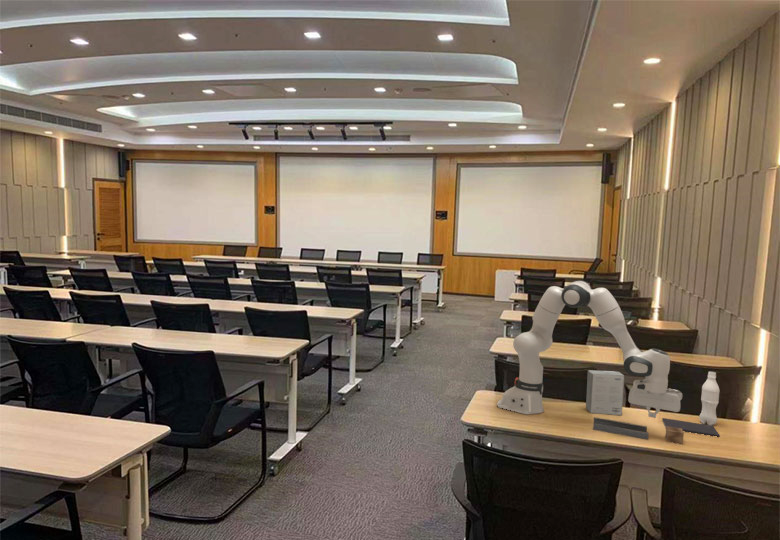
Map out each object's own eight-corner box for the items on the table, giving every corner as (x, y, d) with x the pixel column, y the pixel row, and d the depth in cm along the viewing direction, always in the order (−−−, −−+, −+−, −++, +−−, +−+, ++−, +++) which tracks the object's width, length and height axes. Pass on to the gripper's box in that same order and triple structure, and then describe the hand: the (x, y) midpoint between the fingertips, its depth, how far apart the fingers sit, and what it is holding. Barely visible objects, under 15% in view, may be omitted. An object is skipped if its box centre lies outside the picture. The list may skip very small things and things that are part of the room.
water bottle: (696, 423, 239) (701, 371, 237) (701, 419, 244) (705, 369, 242) (714, 427, 234) (719, 375, 232) (718, 424, 239) (722, 372, 237)
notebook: (665, 429, 230) (719, 438, 222) (665, 426, 230) (719, 435, 222) (661, 420, 241) (712, 429, 234) (661, 417, 241) (713, 425, 234)
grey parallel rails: (593, 429, 224) (593, 424, 224) (593, 422, 233) (594, 417, 233) (647, 439, 215) (648, 433, 215) (646, 431, 224) (646, 426, 224)
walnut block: (666, 441, 214) (667, 430, 214) (665, 437, 220) (666, 425, 219) (682, 444, 212) (683, 433, 212) (681, 439, 217) (681, 428, 217)
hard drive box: (616, 410, 252) (619, 371, 251) (622, 415, 244) (625, 375, 243) (584, 408, 254) (587, 369, 252) (589, 413, 246) (592, 373, 245)
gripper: (681, 388, 217) (678, 419, 218) (629, 380, 225) (626, 410, 226) (684, 392, 211) (680, 424, 212) (630, 383, 219) (627, 414, 220)
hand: (652, 417), depth 219 cm, fingers closed
